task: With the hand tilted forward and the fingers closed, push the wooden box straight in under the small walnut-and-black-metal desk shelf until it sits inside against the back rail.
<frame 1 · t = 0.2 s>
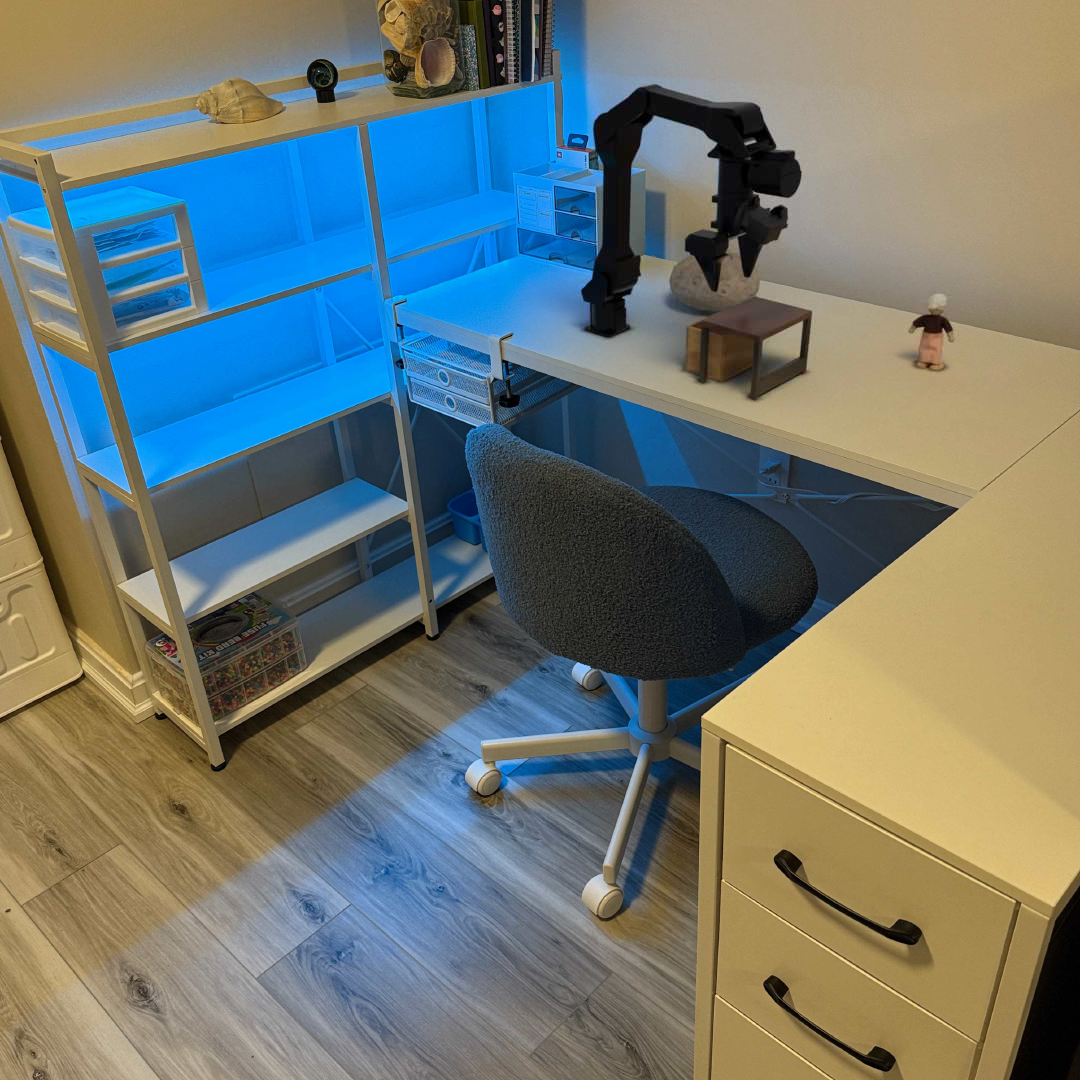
hand: (730, 284, 175), 15 cm above the table, tool pointing down, fingers open, 9 cm apart
wooden box: (720, 367, 183), on the table
grey rounded stone: (713, 304, 210), on the table
desk shelf: (752, 377, 179), on the table
grandmother figurine: (926, 366, 180), on the table
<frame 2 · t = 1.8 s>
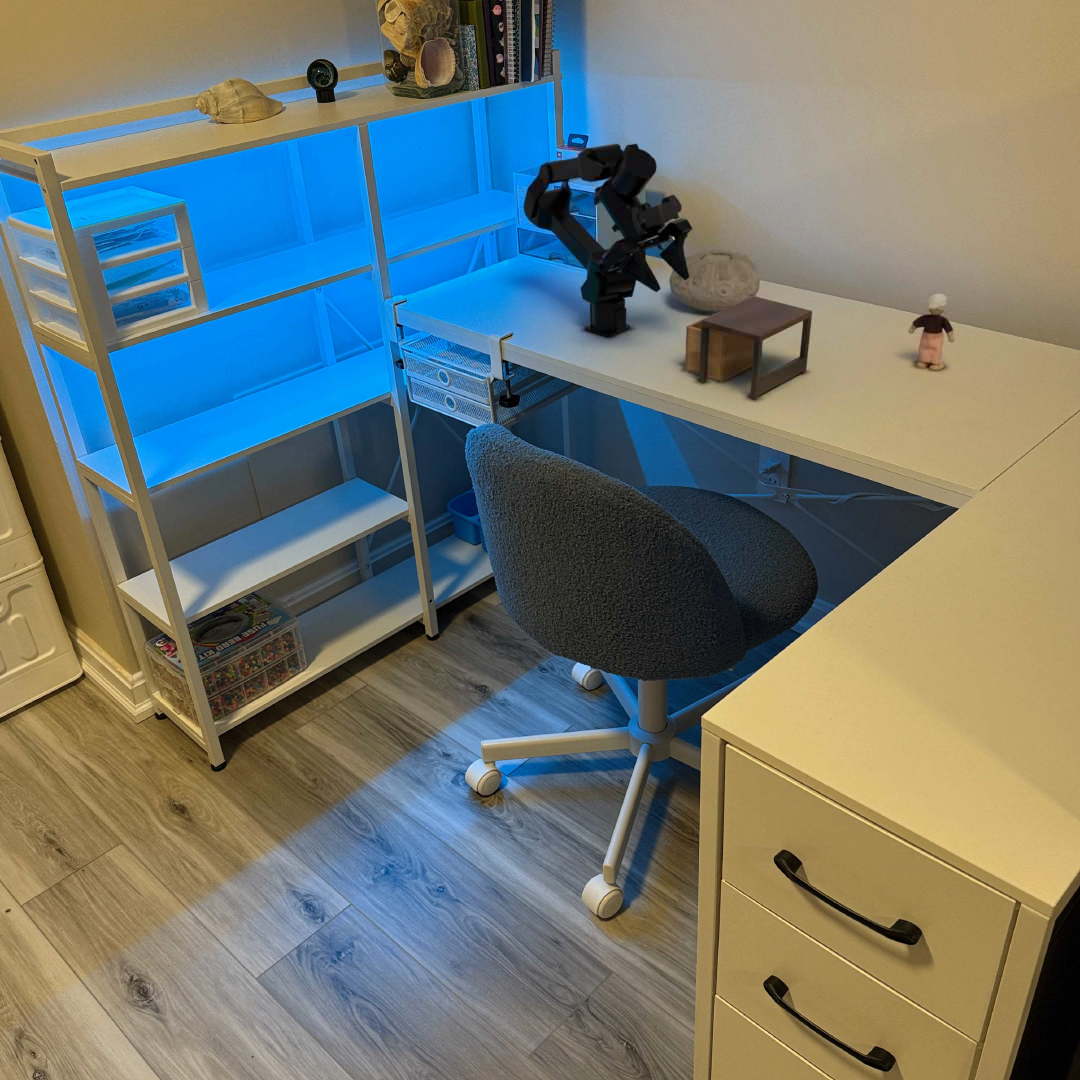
hand: (673, 284, 183), 12 cm above the table, tool tilted 45°, fingers open, 8 cm apart
nothing on the table moved.
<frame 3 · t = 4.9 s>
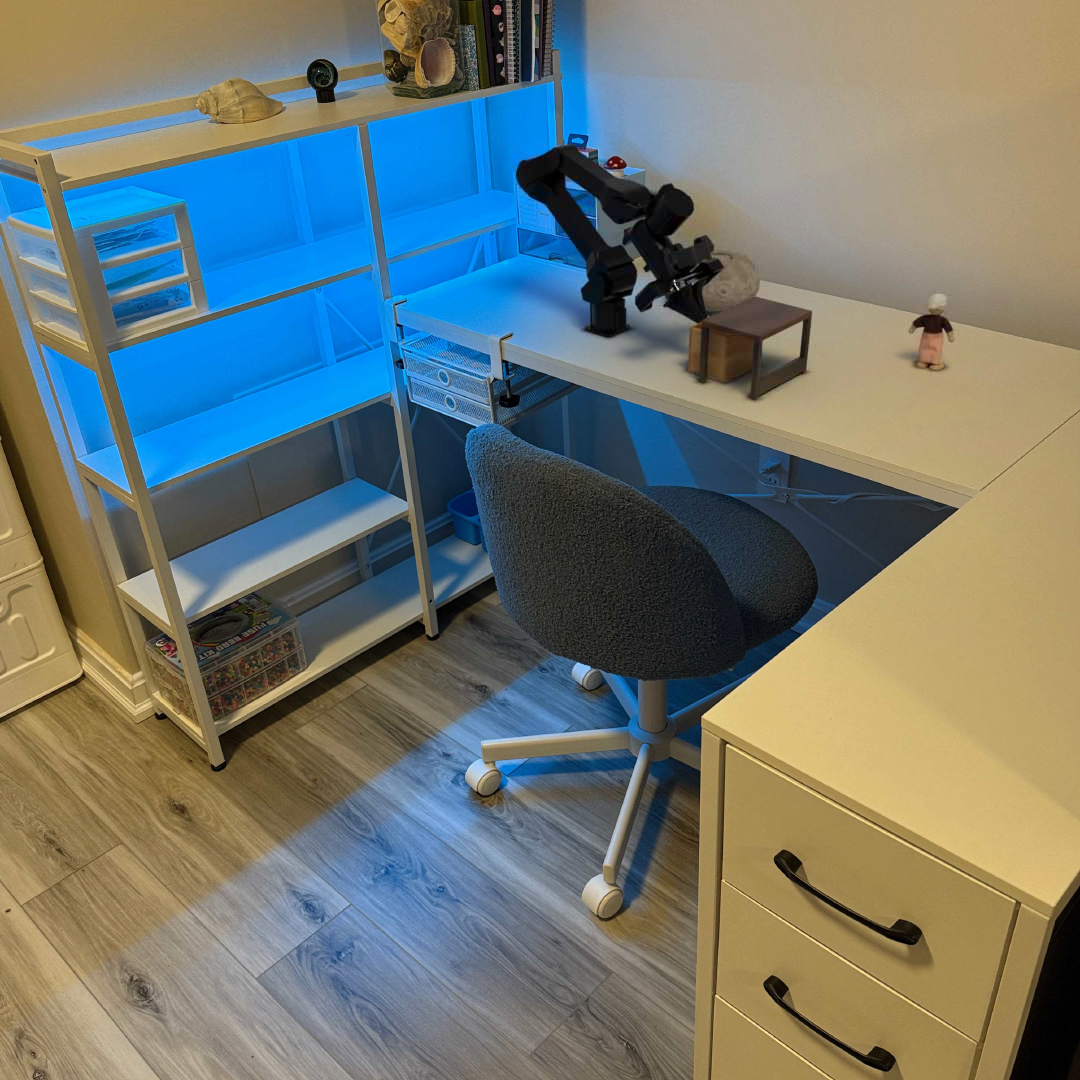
hand: (705, 324, 181), 7 cm above the table, tool tilted 45°, fingers closed, pressing on wooden box
wooden box: (723, 368, 182), on the table, touching gripper
everything else where it was.
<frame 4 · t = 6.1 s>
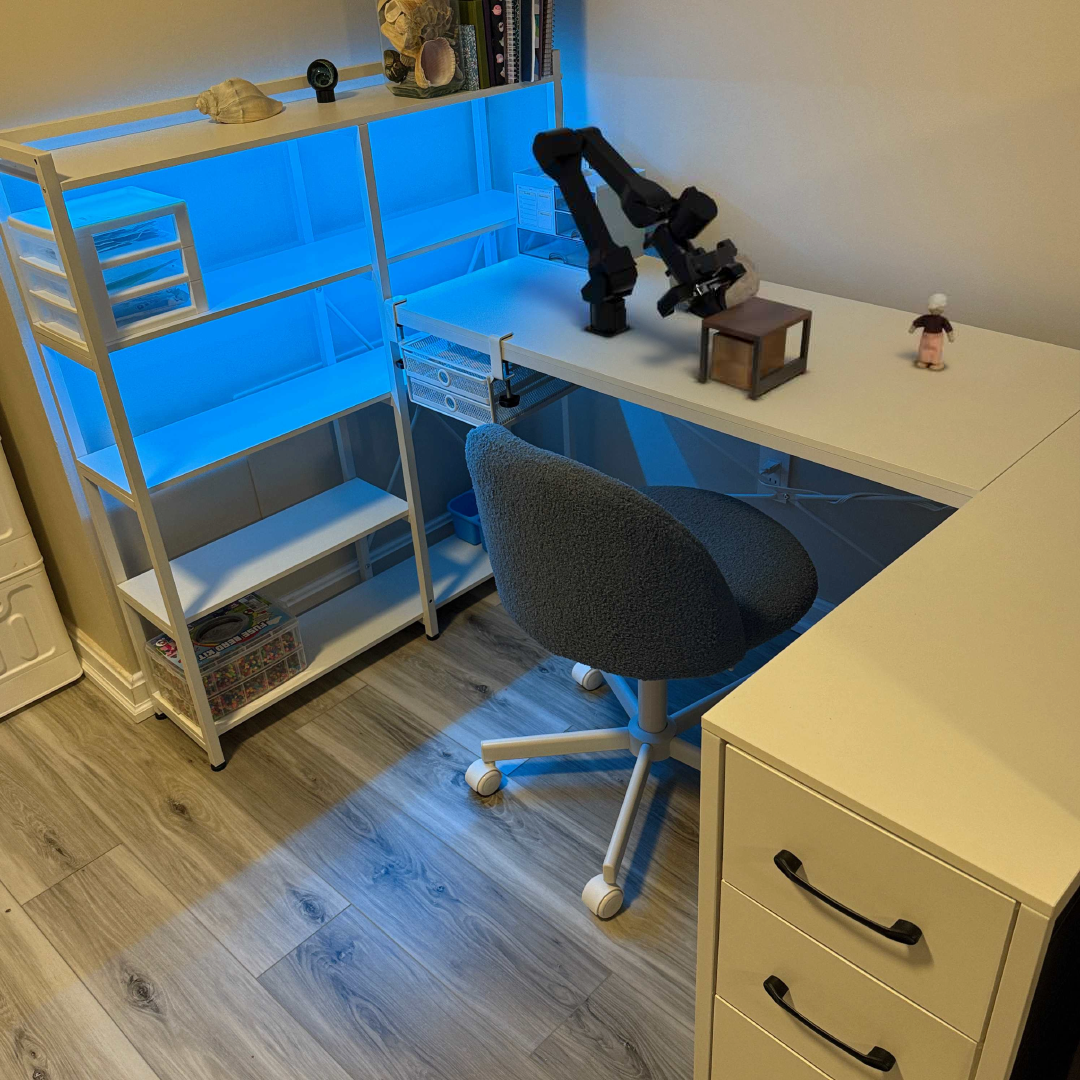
hand: (729, 330, 178), 7 cm above the table, tool tilted 45°, fingers closed, pressing on wooden box
wooden box: (746, 375, 179), on the table, touching gripper
everything else where it was.
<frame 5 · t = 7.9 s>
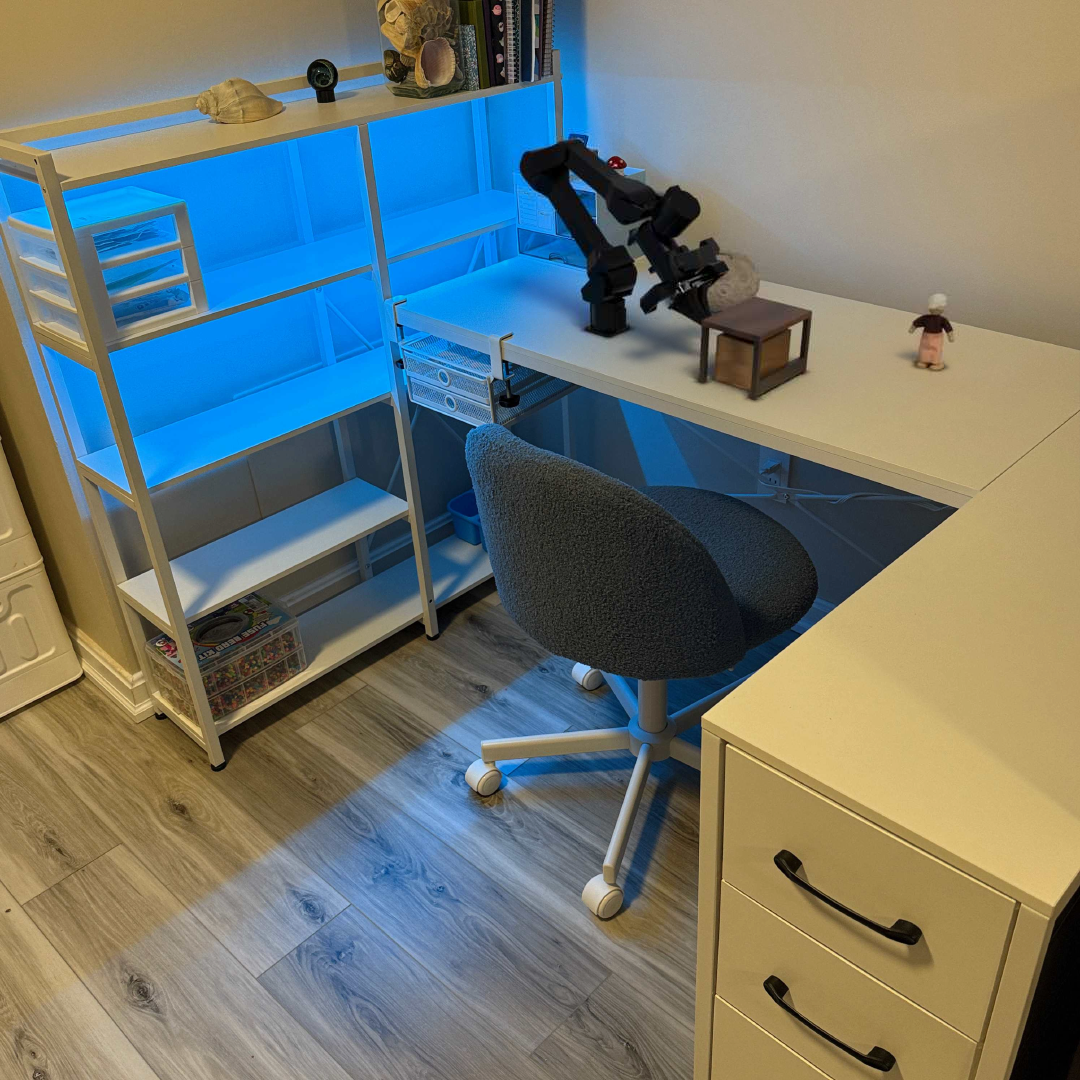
hand: (710, 327, 181), 7 cm above the table, tool tilted 45°, fingers closed
wooden box: (750, 376, 179), on the table
everything else where it was.
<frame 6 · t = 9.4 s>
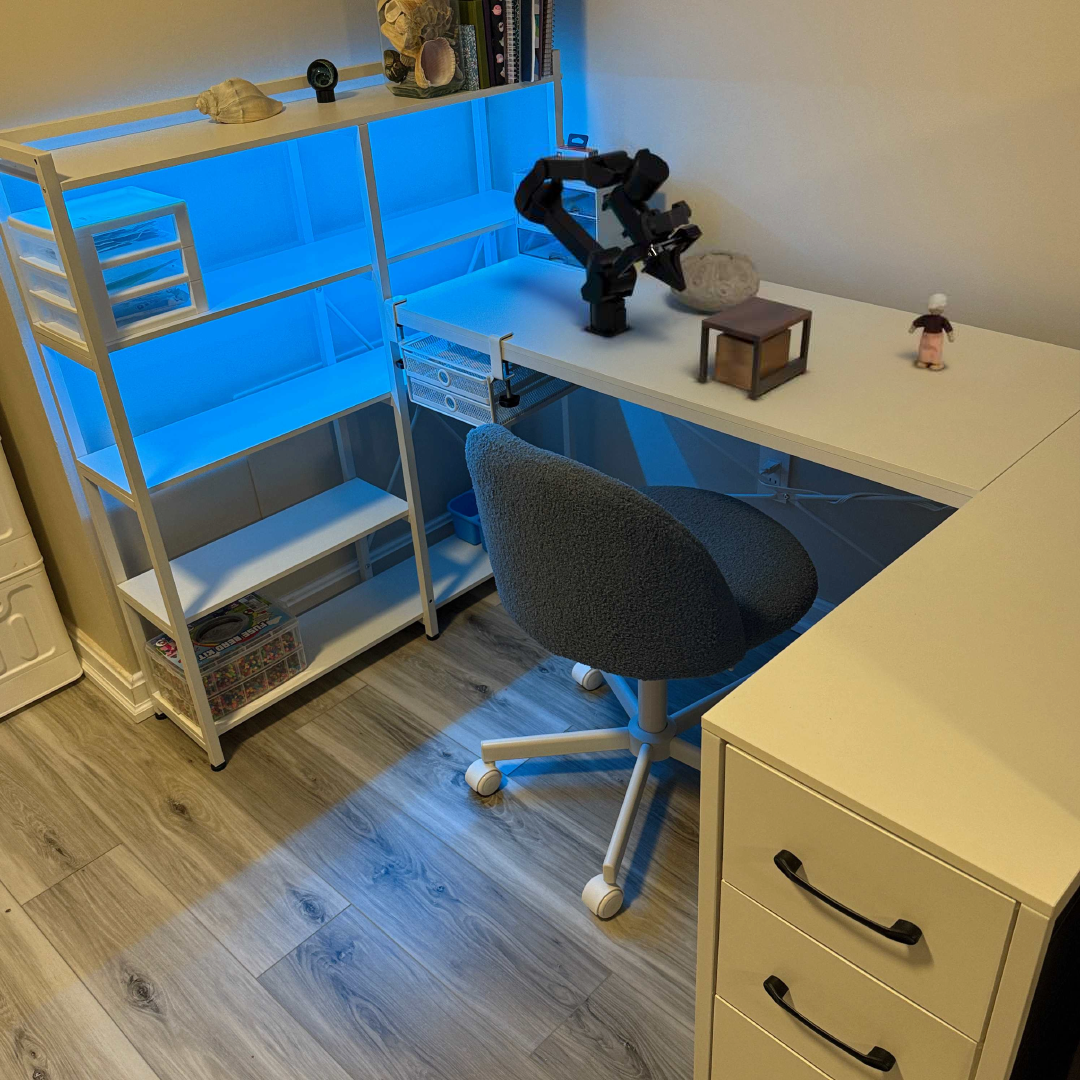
hand: (683, 290, 182), 12 cm above the table, tool tilted 45°, fingers closed
nothing on the table moved.
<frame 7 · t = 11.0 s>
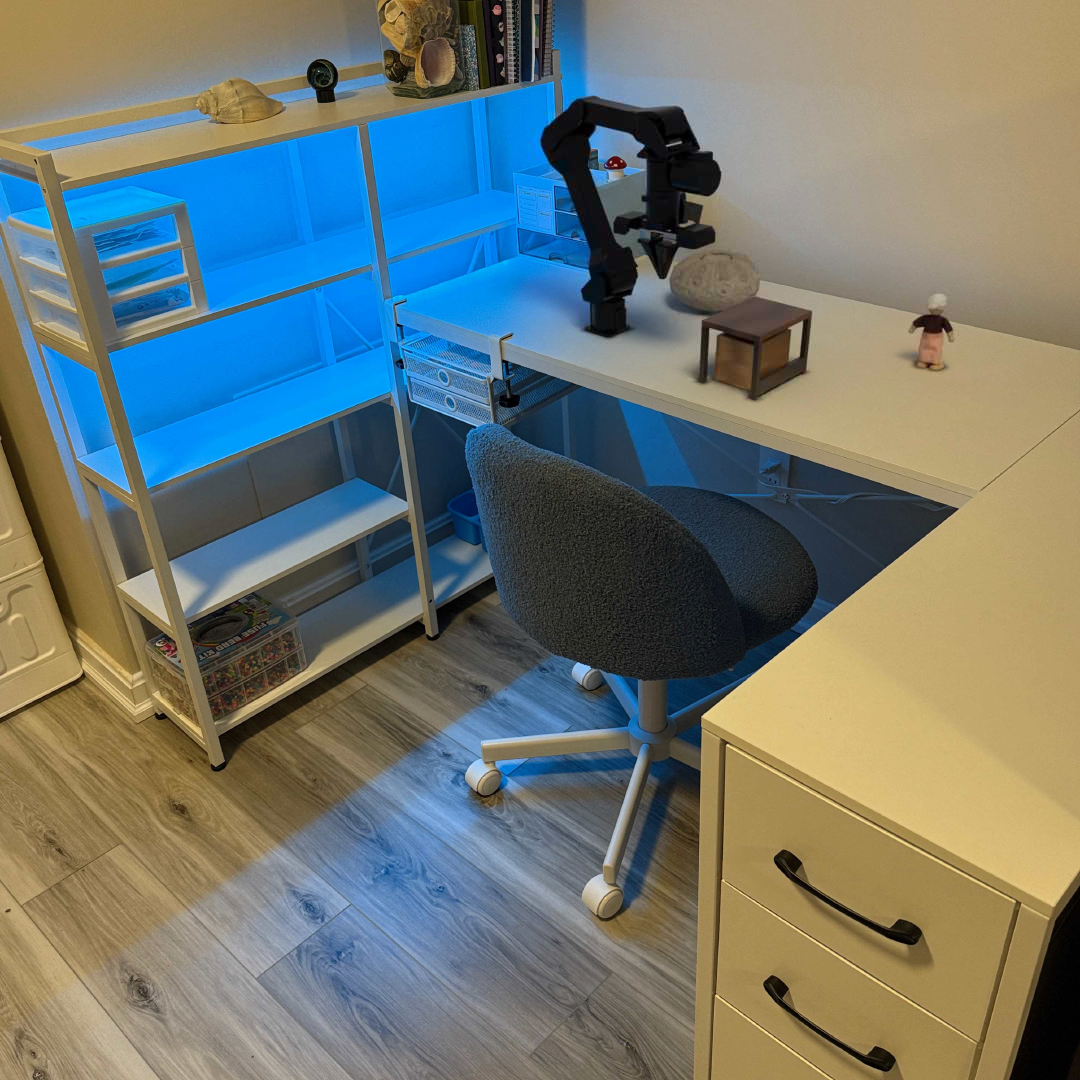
hand: (662, 278, 184), 13 cm above the table, tool pointing down, fingers closed
nothing on the table moved.
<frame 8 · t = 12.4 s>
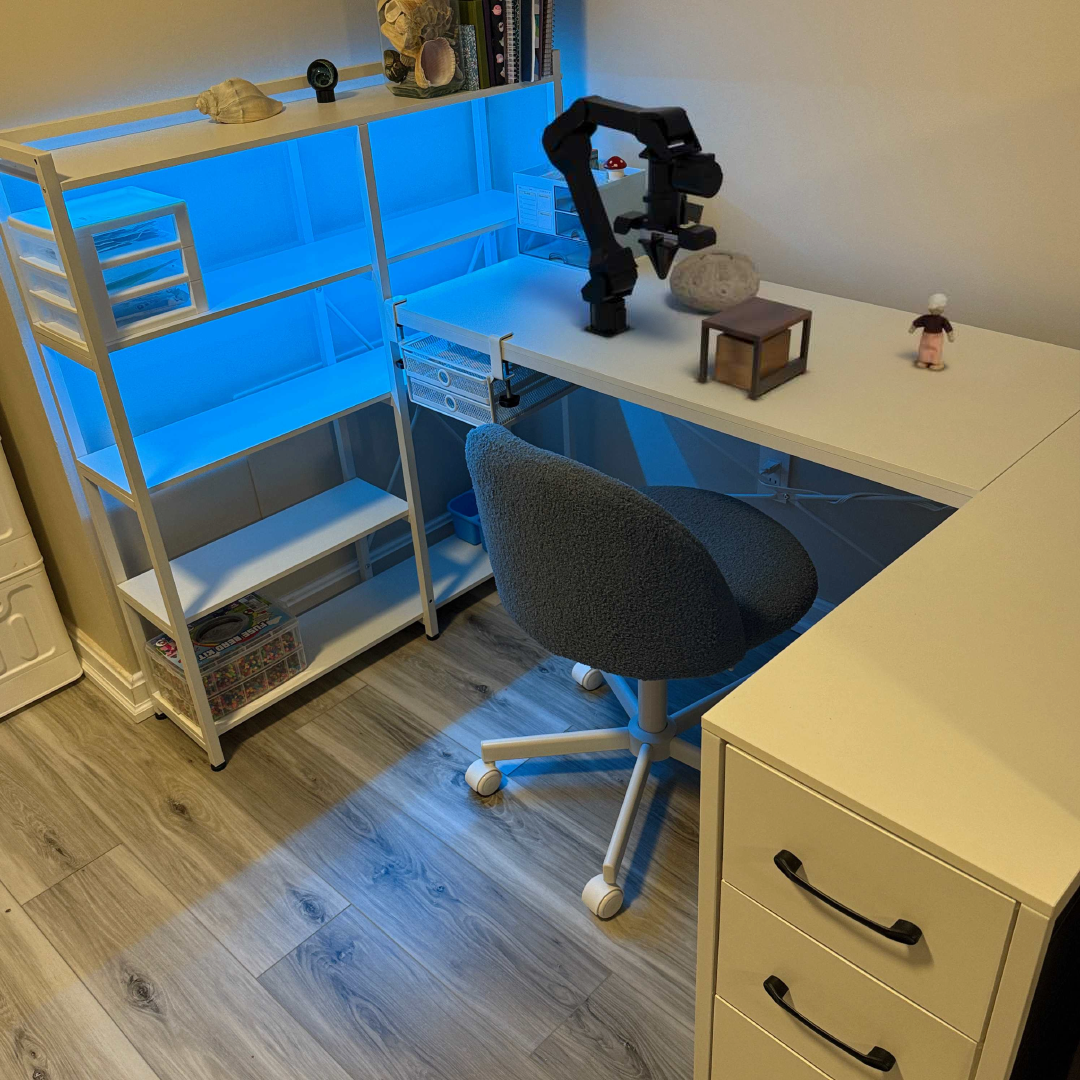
hand: (662, 279, 184), 13 cm above the table, tool pointing down, fingers closed
nothing on the table moved.
at the end: wooden box 0.4 cm from the target spot, on the table; wooden box tilted 0° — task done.
